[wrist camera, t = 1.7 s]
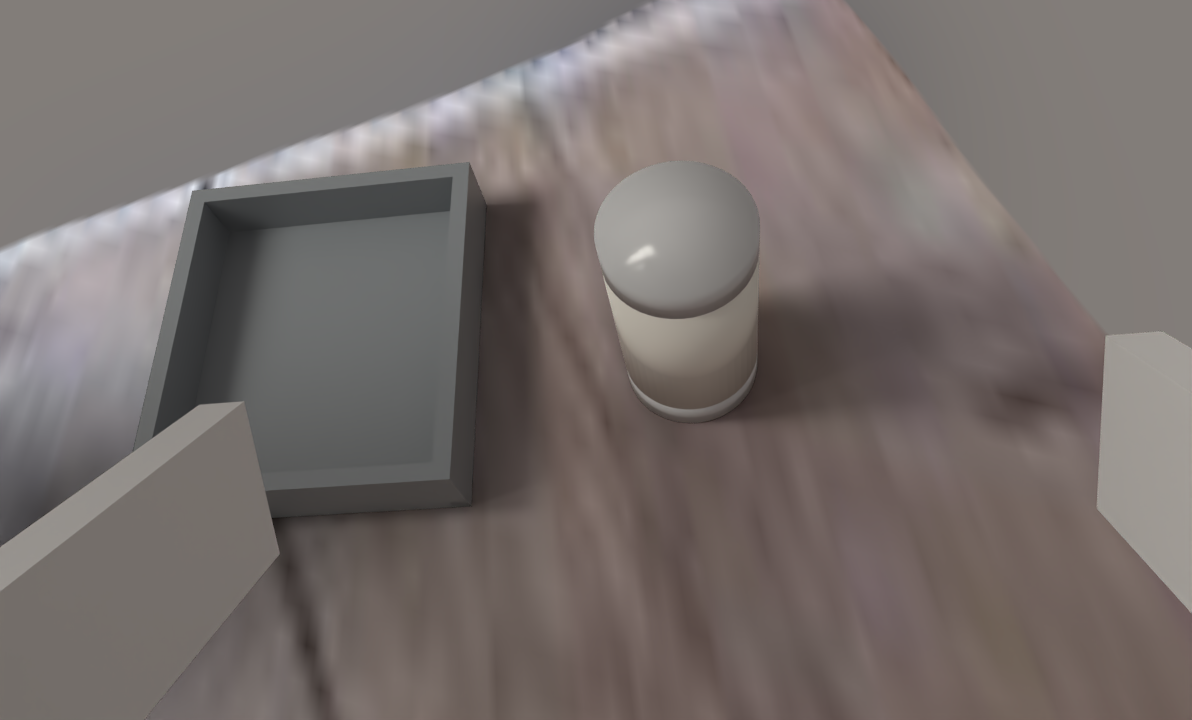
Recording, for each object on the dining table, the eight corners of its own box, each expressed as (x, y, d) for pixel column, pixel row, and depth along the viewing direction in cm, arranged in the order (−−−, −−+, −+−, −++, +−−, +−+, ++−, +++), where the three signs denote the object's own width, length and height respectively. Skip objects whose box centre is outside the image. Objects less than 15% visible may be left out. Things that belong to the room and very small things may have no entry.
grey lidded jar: (629, 427, 43) (594, 304, 33) (625, 313, 46) (592, 169, 36) (763, 418, 42) (767, 290, 33) (751, 303, 45) (752, 153, 35)
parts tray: (165, 524, 44) (121, 499, 41) (225, 230, 52) (192, 190, 49) (471, 506, 42) (449, 479, 39) (486, 204, 50) (469, 162, 47)
